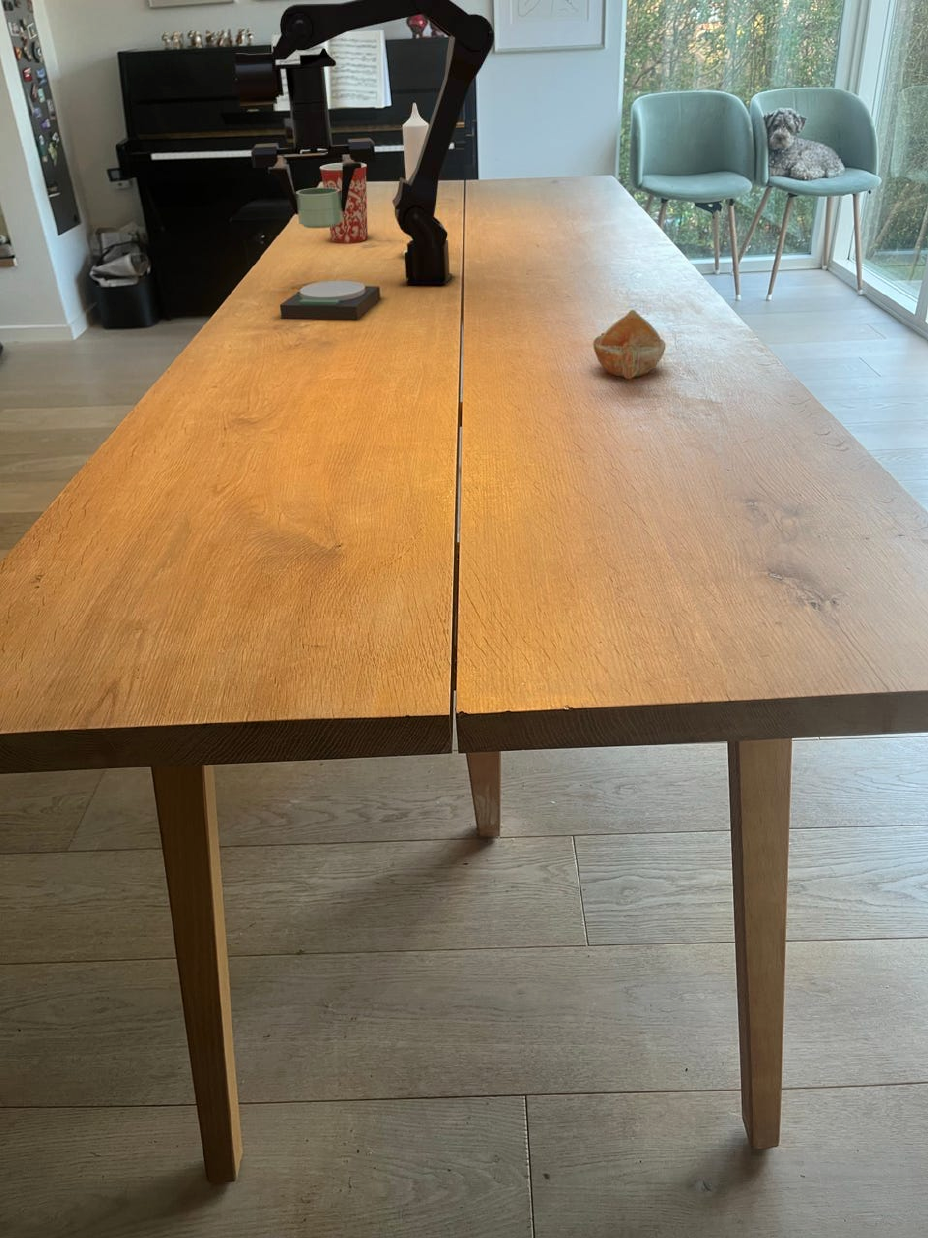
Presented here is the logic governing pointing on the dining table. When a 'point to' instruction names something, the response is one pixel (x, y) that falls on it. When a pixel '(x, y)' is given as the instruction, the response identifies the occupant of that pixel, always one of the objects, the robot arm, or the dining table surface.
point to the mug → (349, 203)
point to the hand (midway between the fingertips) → (320, 212)
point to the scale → (331, 301)
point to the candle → (413, 141)
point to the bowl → (319, 207)
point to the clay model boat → (629, 347)
